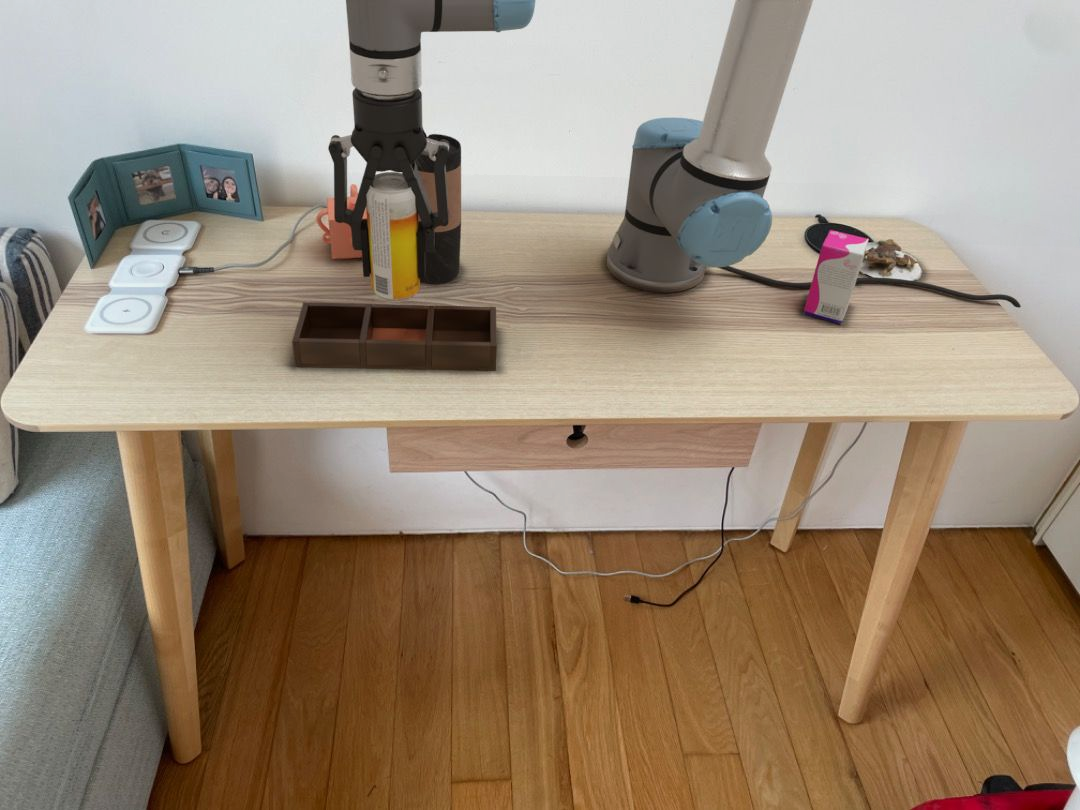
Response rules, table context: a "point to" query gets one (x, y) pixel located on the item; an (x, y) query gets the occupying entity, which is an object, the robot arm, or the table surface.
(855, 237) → the supplement box
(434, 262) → the travel mug
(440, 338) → the rack
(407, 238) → the beer can
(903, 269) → the plate of food
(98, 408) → the table surface
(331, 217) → the teapot
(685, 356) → the table surface
